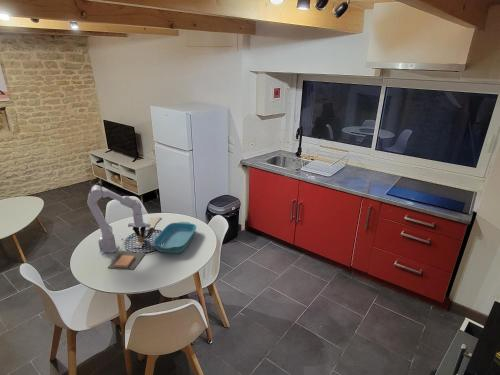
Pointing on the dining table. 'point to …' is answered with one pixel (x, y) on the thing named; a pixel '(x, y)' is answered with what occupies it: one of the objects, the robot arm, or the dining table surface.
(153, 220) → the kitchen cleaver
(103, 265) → the dining table surface
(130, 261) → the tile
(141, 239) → the tall cardboard box
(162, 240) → the casserole dish
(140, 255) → the mat
